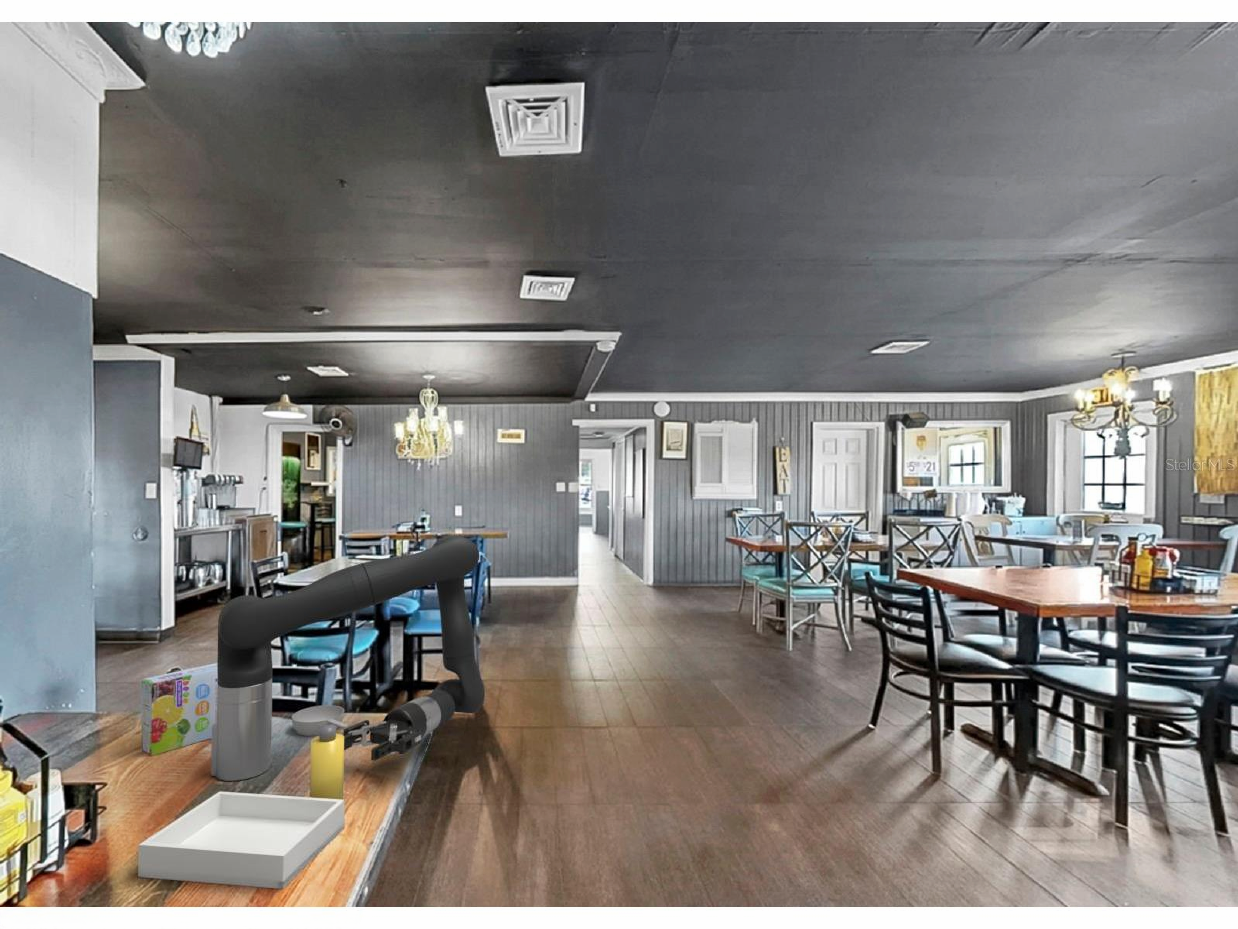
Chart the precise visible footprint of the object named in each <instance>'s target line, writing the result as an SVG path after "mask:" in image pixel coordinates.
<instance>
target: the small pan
mask: <svg viewBox="0 0 1238 929" xmlns="http://www.w3.org/2000/svg"><path fill="white" fill-rule="evenodd" d="M344 718H345V709H344V708H343V707H342V706H338V705H333V704H331V705H329V704H328V705H325V704H324V705H316V706H310V707H307V708H303V709H300V710H298V711H296V712H295V713H293V714H292V716H291V723H292V727H293V728H294V730H295V731H296V733H297V734H299V735H302V736H307V737H317V736H319V728H320V727H322V726H324V725H335V726H336V730H337V729H338V728H341V729H346V728H348V727H349V724H347V723H344V722H343V720H344Z"/></svg>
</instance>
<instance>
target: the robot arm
mask: <svg viewBox="0 0 1238 929" xmlns="http://www.w3.org/2000/svg"><path fill="white" fill-rule="evenodd" d="M479 560H480V550H479V548H478V546H477V545H476V544H475V543H474V542H473V541H472V540H470V539H468V538H467V537H464V536H460V535H459V536H458V535H445V536H442V537H440V538H438V539H437V540H436V541H435V542H434V543H433V545H432V547H430V548H427V549H424V550H422V551H419V552H416V553H412V554H408V555H402V556H393V557H386V558H380V559H375V560H370V561H365V562H361V563H357V564H355V565H352V566H347V567H344V568H342V569H339V570H337V571H334V572H331V573H329V574H327V575H325V576H323V577H322V578H319V579H317V580H315V581H313V582H311V583H309V584H307V585H305V586H303V587H301V588H299V589H296V590H294V591H290V592H286V593H283V594H279V595H276V596H275V595H274V596H270V597H266V598H261V597H259V596H256V595H249V594H248V595H240V596H237V597H234V598H232V599H231V600H229V601H228V602H227V603H226V604H225V605H224V606H223V607H222V609H221V611H220V613H219V615H218V620H217V661H216V663H217V674H218V691H217V723H215V724H213V725H212V738H211V751H210V754H211V755H210V756H211V757H210V776H214V777H216V778H217V779H219V780H221V781H226V782H227V781H228V782H229V781H230V782H231V781H243V780H246V779H251V778H254V777H257V776H259V775H262V774H264V773H265V772H267V771H268V770H270V768H271V766H272V726H273V725H272V721H273V720H272V719H273V718H272V713H273V655H272V654H273V653H272V640H275V639H278V638H280V637H282V636H285V635H286V634H288V633H291V632H293V631H296V630H298V629H301V628H303V627H306V626H308V625H312V624H317V623H321V622H324V621H328V620H331V619H334V618H337V617H341V616H346V615H348V614H352V613H356V612H358V611H361V610H364V609H367V608H370V607H373V606H375V605H378V604H382V603H384V602H386V601H387V602H388V601H389V600H392V599H394V598H396V597H399V596H402V595H405V594H407V593H409V592H412V591H414V590H417V589H420V588H422V587H425V586H430V585H432V584H433V585H434V584H435V586H436V592H437V598H438V606H439V614H440V630H441V650H442V663H443V667H444V669H445V670H446V671H449V672H451V673H453V674H456V675H457V677H458V678H457V679H456V678H455V679H454V678H452V679H446V680H444V681H442V682H440V683H439V684H438V685H437V686H436V687H435V688H434V689H433V690H432V691H431V692H430V693H428V694H426V695H423V696H421V697H418V698H417V697H416V698H414V699H412V700H410V701H408V702H406V703H404V704H402V705H399V706H397V707H395V708H393V709H391V710H390V711H389V712H388V713H386V715H385V717H384V719H383V720H382V721H378V722H376V723H374V724H370V720H369V719H365V720H362V721H360V722H358V723H356V724H353V725H351V726H348V727H347V728H343V734H342V735H343V736H344V751H347V750H348V749H350V748H352V747H354V746H359V745H361V746H362V747H369V746H373V745H375V746H374V747H372V748H371V751H370V759H371V761H373V762H376V761H378V760H380V759H383V758H384V757H386V756H388V755H393V754H396V753H397V752H398V755H400V756H401V755H405V754H407V753H409V752H410V751H411V750H413V749H414V748H416V747H418V746H419V745H421V744H422V738H424V737H425V736H428V735H429V734H431V732H432V731H435V729H438V728H439V727H441V726H442V725H444V724H445V723H447V722H449V721H450V720H451V719H452V717H453V716H454V714H455V713H459V714H460V713H463V714H474V713H477V712H478V711H480V709H481V708H482V707H483V705H484V702H485V698H486V697H485V695H486V694H485V692H486V691H485V686H484V682H483V680H482V675H481V673H480V670H479V667H478V664H477V662H476V661H477V660H476V657H475V654H476V653H475V637H474V629H473V623H472V619H471V616H470V615H471V614H470V611H469V608H468V603H467V599H466V592H465V577H467V576H468V575H470V574H471V573H472V572H473V571H474V570H475V569H476V567H477V565H478V564H479ZM367 735H369V739H368V740H367Z"/></svg>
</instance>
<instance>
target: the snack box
mask: <svg viewBox="0 0 1238 929" xmlns="http://www.w3.org/2000/svg"><path fill="white" fill-rule="evenodd" d="M217 691H218V674H217V662H214V663H210V664H207V665H201V666H196V667H192V668H187V669H183V670H177V671H174V672H169V673H165V674H159V675H155V676H150V677H146V678H142V680H141V750H142V752H144V753H146V754H147V755H149V756H152V757H153V756H156V755H160V754H163V753H166V752H169V751H173V750H176V749H180V748H182V747H187V746H190V745H193V744H197V743H201V742H203V741H206V740H212V725H213V724H215V723H217Z"/></svg>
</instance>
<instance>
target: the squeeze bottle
mask: <svg viewBox="0 0 1238 929" xmlns="http://www.w3.org/2000/svg"><path fill="white" fill-rule="evenodd" d="M344 759H345V750H344V736H343V734H342V733H338V732H337V729H336V726H335V725H324V726H322V727H320V728H319V735H316V736H314V737H313V738H312V739H311V741H310V765H309V766H310V776H309V777H310V779H309V780H310V781H309V784H310V785H309V797H310V798H326V799H341V800H344V780H345V779H344V774H345V771H344V769H345V768H344V767H345V766H344V764H345V763H344V762H345V761H344Z"/></svg>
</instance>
